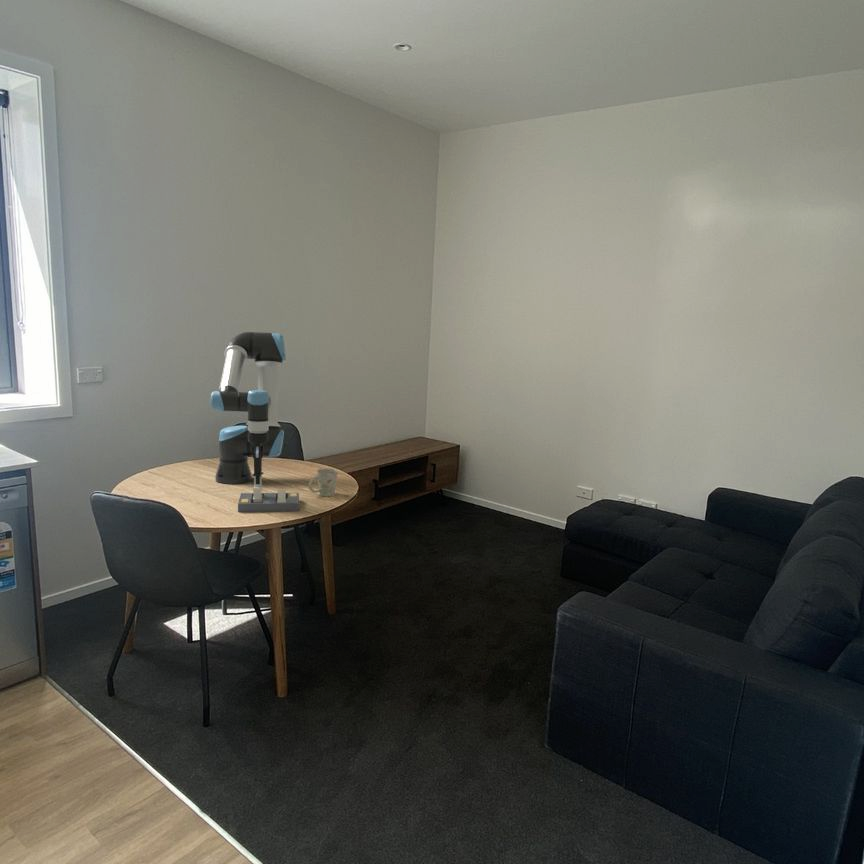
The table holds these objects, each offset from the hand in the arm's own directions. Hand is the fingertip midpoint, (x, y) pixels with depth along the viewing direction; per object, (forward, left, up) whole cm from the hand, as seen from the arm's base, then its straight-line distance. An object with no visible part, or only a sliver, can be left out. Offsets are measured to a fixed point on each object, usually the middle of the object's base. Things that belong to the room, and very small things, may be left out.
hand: (257, 491), depth 236 cm
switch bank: (+3, +5, -5) cm, 7 cm away
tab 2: (+7, +9, -3) cm, 12 cm away
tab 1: (+2, 0, -3) cm, 4 cm away
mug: (-10, +25, -5) cm, 27 cm away
